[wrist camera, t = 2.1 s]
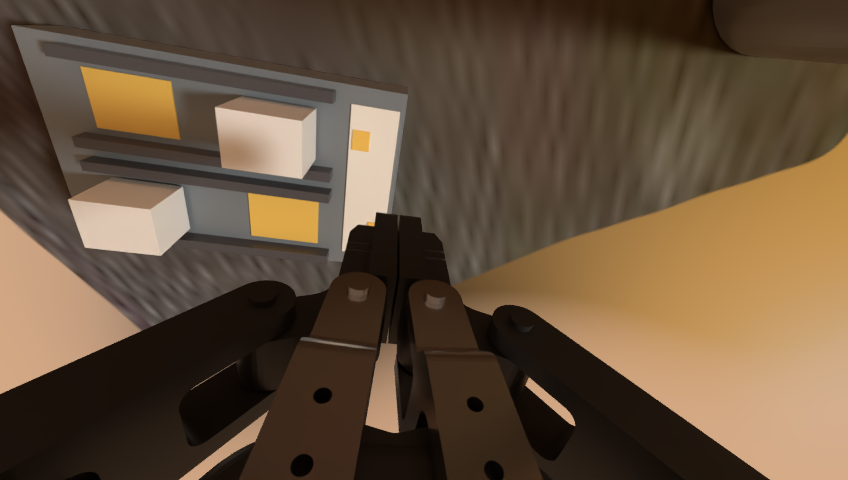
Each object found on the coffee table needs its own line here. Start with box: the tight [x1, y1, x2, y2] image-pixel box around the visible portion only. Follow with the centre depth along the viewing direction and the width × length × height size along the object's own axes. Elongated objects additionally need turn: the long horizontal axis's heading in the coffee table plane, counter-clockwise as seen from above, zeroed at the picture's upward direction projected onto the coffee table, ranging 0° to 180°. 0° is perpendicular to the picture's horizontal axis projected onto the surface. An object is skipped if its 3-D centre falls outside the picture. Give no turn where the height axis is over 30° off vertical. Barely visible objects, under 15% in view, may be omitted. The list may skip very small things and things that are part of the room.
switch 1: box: [68, 177, 190, 256], centre depth 21 cm, size 4×3×3 cm
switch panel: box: [11, 25, 408, 264], centre depth 23 cm, size 20×12×4 cm, turn 80°
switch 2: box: [215, 96, 317, 179], centre depth 19 cm, size 4×3×3 cm
